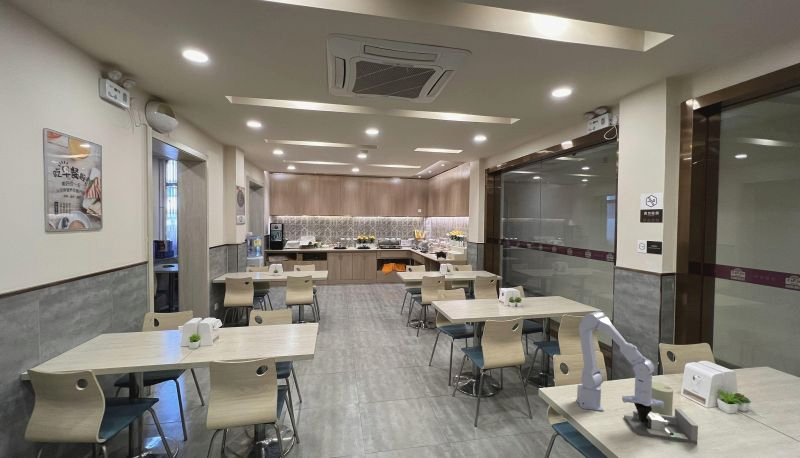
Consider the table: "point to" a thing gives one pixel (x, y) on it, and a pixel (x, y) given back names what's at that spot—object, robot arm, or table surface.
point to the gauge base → (679, 426)
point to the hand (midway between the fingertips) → (641, 420)
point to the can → (662, 398)
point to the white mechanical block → (657, 422)
